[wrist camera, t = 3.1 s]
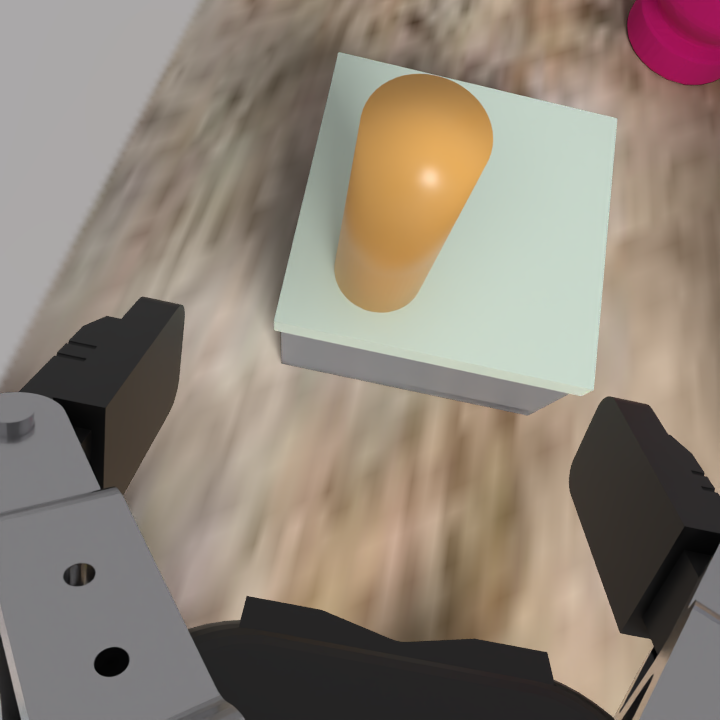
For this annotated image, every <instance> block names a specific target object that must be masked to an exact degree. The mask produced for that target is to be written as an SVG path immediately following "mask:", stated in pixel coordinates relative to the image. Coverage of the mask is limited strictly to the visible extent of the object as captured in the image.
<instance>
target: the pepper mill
mask: <svg viewBox="0 0 720 720" xmlns="http://www.w3.org/2000/svg"><path fill="white" fill-rule="evenodd" d="M627 28H628V37H629V40H630V42H631V44H632V47H633V49H634V51H635V53H636V54H637V55H638V57H639V58H640V59H641V60H642V62H643V63H645V64H646V65H647V66H648V67H649V68H650V69H651V70H652V71H654V72H656V73H657V74H659V75H661V76H662V77H664V78H666V79H667V80H671V81H674V82H678V83H681V84H685V85H701V84H706V83H710V82H713V81H715V80H718V79H720V0H636V1H635V3H634V4H633V6H632V8H631V10H630V12H629V16H628V22H627Z"/></svg>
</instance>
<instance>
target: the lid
mask: <svg viewBox="0 0 720 720" xmlns="http://www.w3.org/2000/svg"><path fill="white" fill-rule="evenodd" d="M616 128H617V118H614V117H609V116H605V115H601V114H597V113H593V112H588V111H584V110H580V109H576V108H572V107H567V106H563V105H559V104H555V103H551V102H547V101H542V100H538V99H534V98H530V97H526V96H521V95H517V94H513V93H509V92H505V91H500V90H496V89H492V88H488V87H484V86H479V85H475V84H471V83H467V82H463V81H459V80H454V79H450V78H446V77H442V76H438V75H433V74H429V73H425V72H421V71H417V70H412V69H408V68H404V67H400V66H396V65H392V64H387V63H383V62H379V61H375V60H371V59H366V58H362V57H358V56H354V55H350V54H345V53H341V52H338V57H337V61H336V65H335V69H334V73H333V77H332V82H331V86H330V90H329V94H328V98H327V102H326V106H325V111H324V115H323V119H322V123H321V127H320V131H319V136H318V140H317V144H316V148H315V152H314V156H313V161H312V165H311V169H310V173H309V177H308V181H307V185H306V190H305V194H304V198H303V202H302V206H301V210H300V215H299V219H298V223H297V227H296V231H295V235H294V239H293V244H292V248H291V252H290V256H289V260H288V264H287V269H286V273H285V277H284V281H283V285H282V289H281V293H280V298H279V302H278V306H277V310H276V314H275V318H274V330H275V331H279V332H284V333H289V334H293V335H298V336H303V337H307V338H312V339H317V340H321V341H326V342H331V343H335V344H340V345H345V346H349V347H354V348H359V349H363V350H368V351H373V352H377V353H382V354H387V355H391V356H396V357H401V358H405V359H410V360H415V361H419V362H424V363H429V364H433V365H438V366H443V367H447V368H452V369H457V370H461V371H466V372H471V373H475V374H480V375H485V376H489V377H494V378H499V379H503V380H508V381H513V382H517V383H522V384H527V385H531V386H536V387H541V388H545V389H550V390H555V391H559V392H564V393H569V394H573V395H578V396H583V395H585V394H587V393H589V392H591V391H593V390H594V381H595V369H596V358H597V346H598V335H599V323H600V312H601V300H602V289H603V277H604V266H605V254H606V243H607V231H608V220H609V208H610V197H611V185H612V174H613V162H614V151H615V139H616Z"/></svg>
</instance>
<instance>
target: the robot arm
mask: <svg viewBox="0 0 720 720" xmlns="http://www.w3.org/2000/svg"><path fill="white" fill-rule="evenodd" d="M184 318H185V312H184V307H183V305H180V304H175V303H170V302H166V301H161V300H156V299H152V298H147V297H141V298H140V299H139V300H138V301H137V302H136V303H135V304H134V305H133V306H132V308H131V309H130V310H129V311H128V312H127V313H126V314H125V315H124V317H123V318H122V319H119V318H114V317H109V316H106V317H104V318H101V319H99V320H96V321H94V322H92V323H89V324H87V325H85V326H83V327H82V328H81V329H80V330H79V331H78V332H77V333H76V334H75V335H74V336H73V337H72V338H71V339H70V340H69V343H68V344H67V343H66V344H65V345H64V346H63V347H62V348H61V349H60V350H59V351H58V352H57V356H53V357H52V359H51V360H50V361H49V362H48V363H47V364H46V365H45V366H44V367H43V368H42V369H41V370H40V371H39V372H38V373H37V374H36V375H35V376H34V377H33V378H32V379H31V380H30V381H29V382H28V383H27V384H26V385H25V386H24V387H23V388H22V389H21V390H20V391H19V392H8V393H0V720H720V496H719V494H718V493H715V492H714V490H715V488H714V487H713V485H712V484H711V482H710V481H709V479H708V477H705V476H704V471H703V470H702V468H701V467H700V465H699V464H698V462H697V461H696V459H695V458H694V456H693V455H692V453H690V452H689V451H688V450H687V449H686V448H685V447H684V446H682V445H681V444H680V443H679V442H678V441H677V440H676V439H674V438H673V437H672V436H671V435H668V434H667V432H666V430H665V429H664V427H663V426H662V424H661V422H660V421H659V419H658V418H657V416H656V415H655V413H654V411H653V410H652V408H651V407H650V406H649V405H647V404H643V403H638V402H634V401H629V400H624V399H619V398H615V397H606V398H604V399H603V400H602V401H601V403H600V404H599V406H598V408H597V410H596V412H595V414H594V416H593V418H592V421H591V423H590V425H589V427H588V429H587V431H586V434H585V436H584V438H583V440H582V442H581V444H580V447H579V449H578V451H577V453H576V455H575V457H574V460H573V462H572V465H571V469H570V475H569V489H570V493H571V496H572V499H573V502H574V505H575V508H576V510H577V513H578V516H579V519H580V522H581V524H582V527H583V530H584V533H585V536H586V538H587V541H588V544H589V547H590V550H591V553H592V555H593V558H594V561H595V564H596V567H597V569H598V572H599V575H600V578H601V581H602V583H603V586H604V589H605V592H606V595H607V598H608V600H609V603H610V606H611V609H612V612H613V614H614V617H615V620H616V623H617V626H618V628H619V631H620V633H622V634H627V635H632V636H638V637H643V638H648V639H651V640H652V643H653V645H654V646H653V647H652V649H651V650H650V652H649V653H648V655H647V656H646V658H645V660H644V661H643V663H642V665H641V667H640V669H639V671H638V673H637V674H636V676H635V678H634V680H633V682H632V684H631V686H630V688H629V690H628V691H627V693H626V695H625V697H624V699H623V701H622V703H621V705H620V707H619V708H618V710H617V712H616V714H615V716H614V718H613V717H612V716H611V715H610V714H608V713H607V712H606V711H604V710H603V709H602V708H601V707H599V706H598V705H597V704H595V703H594V702H592V701H591V700H589V699H588V698H586V697H585V696H583V695H582V694H580V693H579V692H577V691H575V690H573V689H571V688H570V687H568V686H566V685H564V684H562V683H560V682H558V681H555V680H553V675H552V671H551V667H550V662H549V658H548V654H547V652H542V651H537V650H532V649H526V648H521V647H516V646H510V645H505V644H500V643H494V642H489V641H484V640H478V639H461V640H441V641H421V642H399V641H395V640H392V639H389V638H387V637H385V636H382V635H380V634H378V633H375V632H373V631H370V630H368V629H366V628H363V627H361V626H358V625H356V624H354V623H351V622H349V621H347V620H344V619H342V618H339V617H337V616H335V615H332V614H330V613H328V612H325V611H323V610H319V609H313V608H308V607H303V606H297V605H292V604H287V603H281V602H276V601H271V600H265V599H260V598H255V597H249V596H247V597H246V601H245V605H244V609H243V613H242V617H241V620H233V621H222V622H216V623H210V624H205V625H201V626H198V627H194V628H190V629H187V627H186V625H185V623H184V621H183V619H182V617H181V615H180V613H179V611H178V608H177V606H176V604H175V602H174V600H173V598H172V596H171V594H170V592H169V590H168V588H167V586H166V584H165V582H164V580H163V578H162V576H161V573H160V571H159V569H158V567H157V565H156V563H155V561H154V559H153V557H152V555H151V553H150V551H149V549H148V547H147V545H146V543H145V541H144V538H143V536H142V534H141V532H140V530H139V528H138V526H137V524H136V522H135V520H134V518H133V516H132V514H131V512H130V510H129V508H128V506H127V503H126V501H125V499H124V497H123V494H124V493H125V491H126V489H127V487H128V485H129V484H130V482H131V480H132V478H133V476H134V475H135V473H136V471H137V469H138V468H139V466H140V464H141V462H142V460H143V459H144V457H145V455H146V453H147V451H148V450H149V448H150V446H151V444H152V442H153V441H154V439H155V437H156V435H157V434H158V432H159V430H160V428H161V426H162V425H163V423H164V421H165V419H166V417H167V416H168V414H169V412H170V410H171V408H172V405H173V403H174V400H175V396H176V392H177V388H178V383H179V374H180V363H181V352H182V341H183V330H184Z"/></svg>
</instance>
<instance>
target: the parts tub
mask: <svg viewBox="0 0 720 720" xmlns="http://www.w3.org/2000/svg"><path fill="white" fill-rule="evenodd" d="M281 356H282V364H287V365H292V366H296V367H301V368H306V369H311V370H315V371H320V372H325V373H330V374H334V375H339V376H344V377H348V378H353V379H358V380H363V381H367V382H372V383H377V384H382V385H386V386H391V387H396V388H400V389H405V390H410V391H415V392H419V393H424V394H429V395H434V396H438V397H443V398H448V399H452V400H457V401H462V402H467V403H471V404H476V405H481V406H486V407H490V408H495V409H500V410H504V411H509V412H514V413H519V414H523V415H530V414H532V413H534V412H536V411H537V410H539V409H541V408H543V407H545V406H547V405H549V404H551V403H553V402H554V401H556V400H558V399H560V398H562V397H564V396H566V395H568V394H569V393H564V392H559V391H555V390H550V389H545V388H541V387H536V386H531V385H527V384H522V383H517V382H513V381H508V380H503V379H499V378H494V377H489V376H485V375H480V374H475V373H471V372H466V371H461V370H457V369H452V368H447V367H443V366H438V365H433V364H429V363H424V362H419V361H415V360H410V359H405V358H401V357H396V356H391V355H387V354H382V353H377V352H373V351H368V350H363V349H359V348H354V347H349V346H345V345H340V344H335V343H331V342H326V341H321V340H317V339H312V338H307V337H303V336H298V335H293V334H289V333H284V332H281Z"/></svg>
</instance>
